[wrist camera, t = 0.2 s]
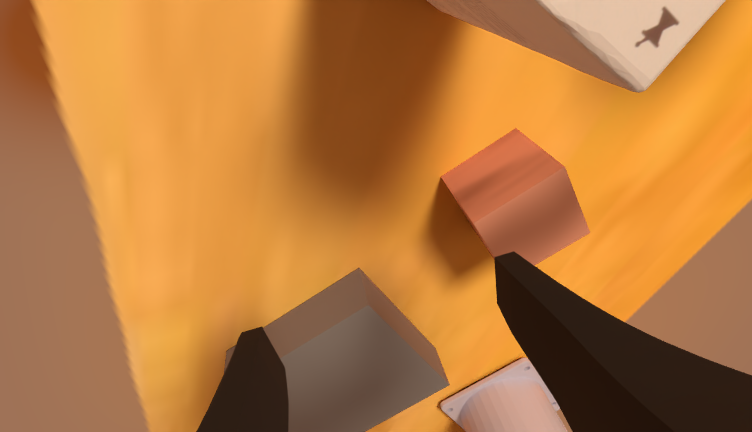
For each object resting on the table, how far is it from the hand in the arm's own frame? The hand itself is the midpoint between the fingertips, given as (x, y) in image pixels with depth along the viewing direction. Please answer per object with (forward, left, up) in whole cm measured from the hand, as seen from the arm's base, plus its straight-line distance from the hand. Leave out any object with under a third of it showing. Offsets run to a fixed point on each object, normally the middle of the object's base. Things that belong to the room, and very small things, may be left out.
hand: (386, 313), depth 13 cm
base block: (-11, +8, -10) cm, 17 cm away
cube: (-6, -6, -10) cm, 13 cm away
